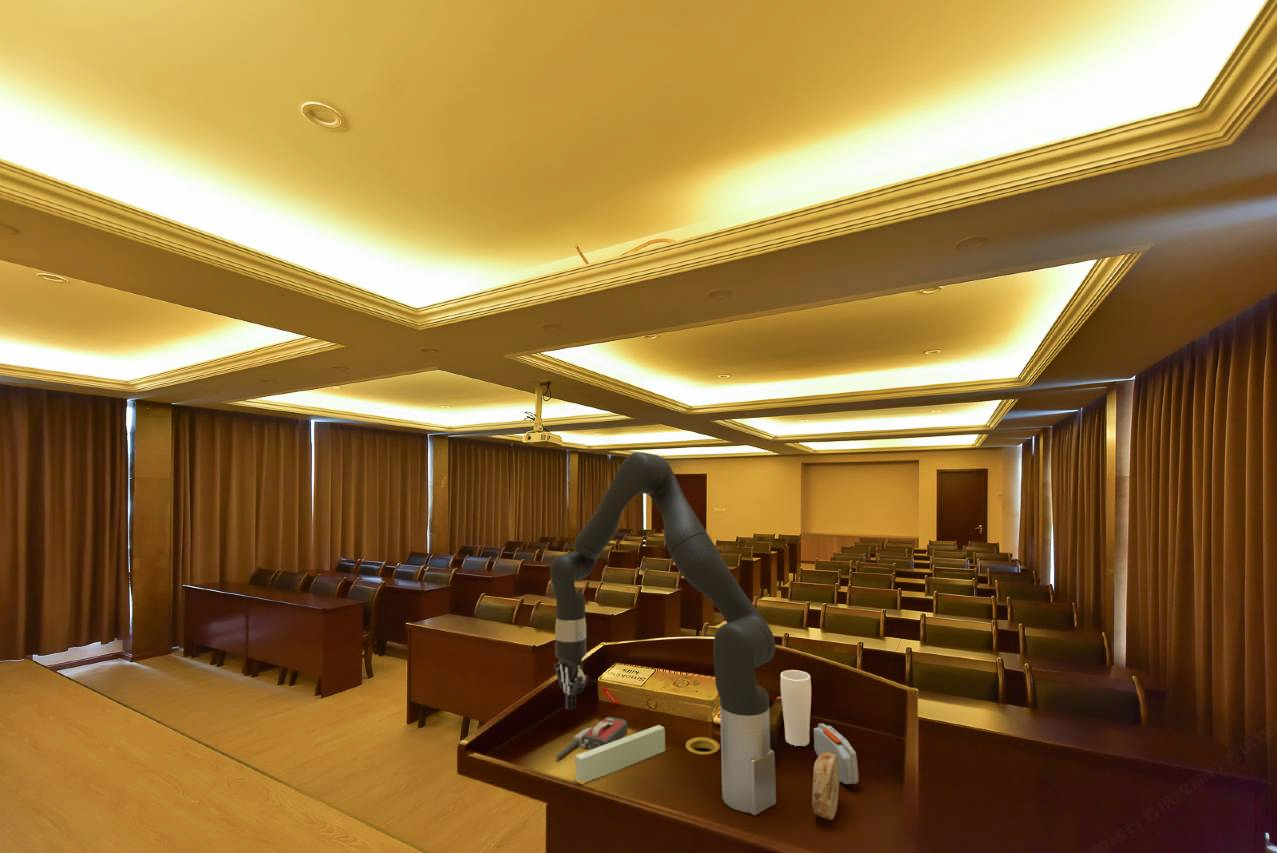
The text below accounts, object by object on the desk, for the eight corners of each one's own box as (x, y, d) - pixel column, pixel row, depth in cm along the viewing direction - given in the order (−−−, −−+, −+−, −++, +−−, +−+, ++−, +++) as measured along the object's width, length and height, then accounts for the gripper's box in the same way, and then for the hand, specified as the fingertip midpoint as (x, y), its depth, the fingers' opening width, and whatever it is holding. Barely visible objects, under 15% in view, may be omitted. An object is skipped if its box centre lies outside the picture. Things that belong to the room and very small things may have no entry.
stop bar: (665, 751, 129) (664, 727, 129) (580, 785, 116) (580, 759, 116) (659, 747, 131) (658, 724, 131) (575, 781, 117) (575, 755, 117)
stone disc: (822, 795, 111) (820, 741, 112) (842, 801, 109) (840, 746, 110) (809, 825, 102) (807, 766, 102) (831, 831, 100) (829, 771, 101)
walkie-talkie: (600, 725, 143) (553, 762, 126) (600, 706, 144) (553, 741, 126) (631, 731, 139) (588, 771, 122) (631, 712, 140) (587, 749, 122)
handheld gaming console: (860, 792, 112) (859, 749, 113) (846, 793, 112) (845, 750, 112) (823, 755, 126) (822, 717, 127) (811, 757, 126) (810, 718, 126)
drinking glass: (818, 741, 132) (815, 674, 133) (804, 752, 127) (801, 682, 128) (791, 732, 137) (789, 667, 138) (776, 742, 132) (774, 675, 133)
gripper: (598, 639, 138) (598, 714, 137) (570, 627, 149) (569, 696, 148) (571, 645, 134) (571, 722, 133) (544, 632, 144) (543, 703, 143)
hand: (570, 708), depth 140 cm, fingers closed
